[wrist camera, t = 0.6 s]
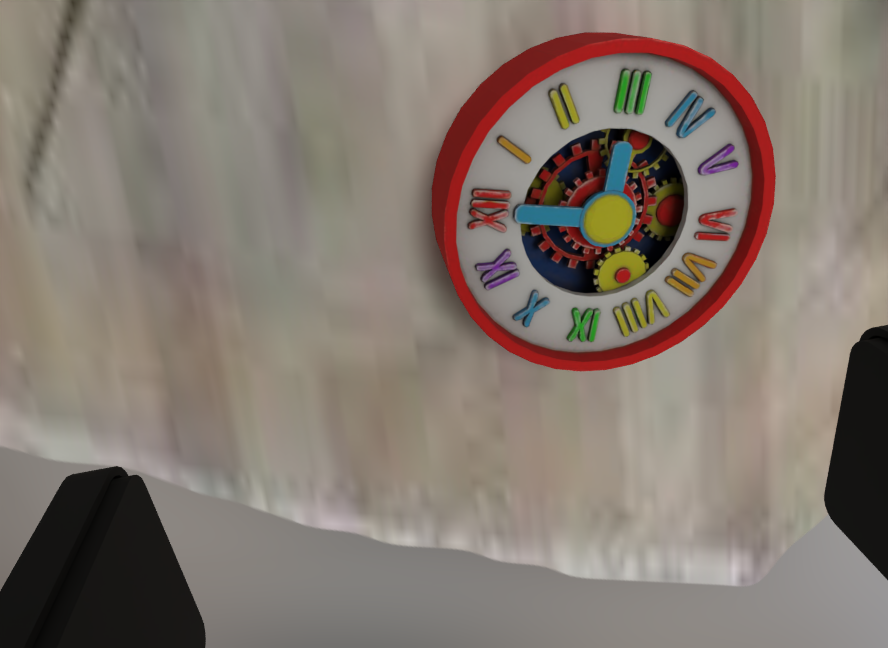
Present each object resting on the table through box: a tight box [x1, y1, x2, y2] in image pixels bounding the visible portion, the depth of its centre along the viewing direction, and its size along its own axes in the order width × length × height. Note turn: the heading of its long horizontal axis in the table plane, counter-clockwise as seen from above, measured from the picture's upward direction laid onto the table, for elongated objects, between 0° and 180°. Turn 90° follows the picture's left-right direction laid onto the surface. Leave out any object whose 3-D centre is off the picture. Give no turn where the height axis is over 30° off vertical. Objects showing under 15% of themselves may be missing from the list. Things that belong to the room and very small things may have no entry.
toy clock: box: [432, 33, 776, 371], centre depth 41 cm, size 20×6×20 cm
